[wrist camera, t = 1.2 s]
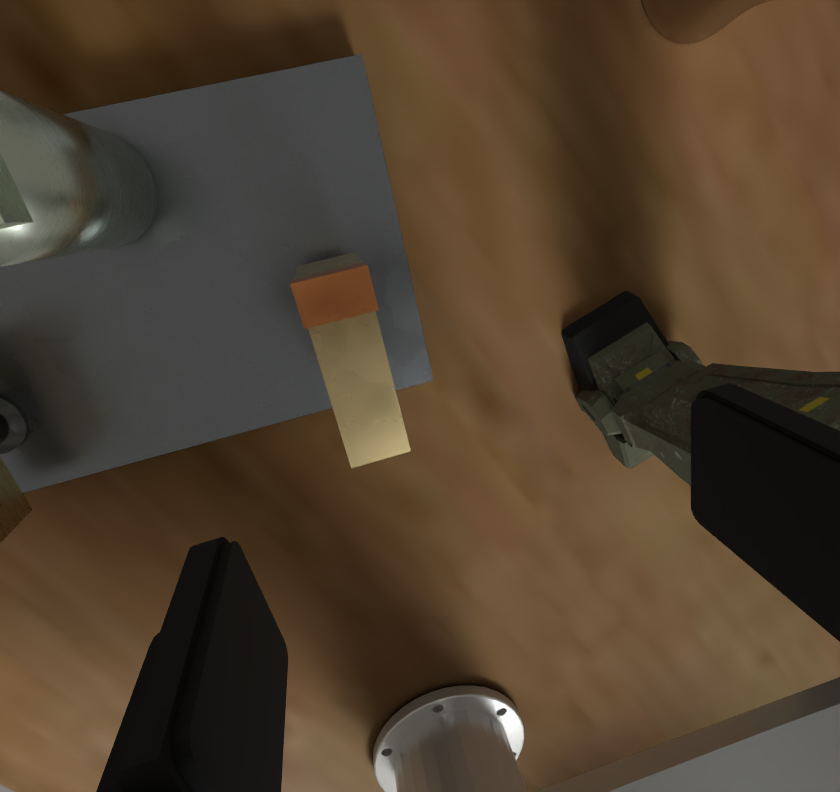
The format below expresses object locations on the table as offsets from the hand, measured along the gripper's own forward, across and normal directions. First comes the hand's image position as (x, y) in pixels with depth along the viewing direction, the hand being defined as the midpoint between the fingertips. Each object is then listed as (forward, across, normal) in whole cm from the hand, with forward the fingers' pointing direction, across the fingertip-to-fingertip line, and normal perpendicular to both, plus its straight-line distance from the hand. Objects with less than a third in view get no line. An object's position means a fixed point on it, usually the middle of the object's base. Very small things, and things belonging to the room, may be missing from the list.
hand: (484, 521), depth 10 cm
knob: (+18, +2, 0) cm, 18 cm away
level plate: (+20, +11, -4) cm, 23 cm away
